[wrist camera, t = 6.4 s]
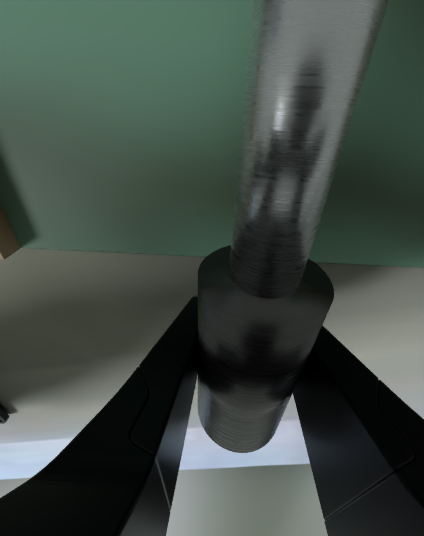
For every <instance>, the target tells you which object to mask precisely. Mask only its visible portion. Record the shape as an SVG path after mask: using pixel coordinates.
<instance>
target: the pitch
mask: <svg viewBox="0 0 424 536" xmlns="http://www.w3.org/2000/svg"><path fill="white" fill-rule="evenodd" d="M253 4H254V0H0V260H5V259H6V258H7V257H9V256H10V255H12V254H13V253H14V252H16V251H17V250H18V249H20V248H38V249H59V250H79V251H99V252H119V253H140V254H160V255H180V256H200V257H207V256H208V255H209V254H211V253H212V252H214V251H216V250H218V249H220V248H222V247H226V246H229V245H231V242H232V231H233V220H234V209H235V199H236V188H237V177H238V166H239V155H240V145H241V134H242V123H243V112H244V102H245V91H246V80H247V69H248V58H249V48H250V37H251V26H252V15H253ZM308 259H310V260H311V261H313V262H322V263H342V264H362V265H383V266H403V267H423V268H424V0H389V2H388V5H387V8H386V12H385V15H384V18H383V21H382V24H381V28H380V31H379V34H378V37H377V40H376V43H375V47H374V50H373V53H372V56H371V59H370V63H369V66H368V69H367V72H366V75H365V78H364V82H363V85H362V88H361V91H360V94H359V97H358V101H357V104H356V107H355V110H354V113H353V117H352V120H351V123H350V126H349V129H348V132H347V136H346V139H345V142H344V145H343V148H342V152H341V155H340V158H339V161H338V164H337V167H336V171H335V174H334V177H333V180H332V183H331V187H330V190H329V193H328V196H327V199H326V202H325V206H324V209H323V212H322V215H321V218H320V222H319V225H318V228H317V231H316V234H315V237H314V241H313V244H312V247H311V250H310V253H309V257H308Z"/></svg>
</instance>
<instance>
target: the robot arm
mask: <svg viewBox="0 0 424 536" xmlns="http://www.w3.org/2000/svg"><path fill="white" fill-rule="evenodd" d="M197 374H198V297H197V296H194V297H192V298H191V299H190V301H189V302H188V303H187V305H186V306H185V307H184V308H183V310H182V311H181V312H180V314H179V315H178V316H177V317H176V319H175V320H174V321H173V323H172V324H171V325H170V326H169V328H168V329H167V330H166V332H165V333H164V334H163V335H162V337H161V338H160V339H159V341H158V342H157V343H156V344H155V346H154V347H153V348H152V350H151V351H150V352H149V353H148V355H147V356H146V357H145V359H144V360H143V361H142V362H141V364H140V365H139V367H137V369H136V370H135V371H134V373H133V374H132V375H131V376H130V378H129V379H128V380H127V381H126V383H125V384H124V385H123V386H122V387H121V389H120V390H119V391H118V392H117V393H116V394H115V395H114V397H113V398H112V399H111V400H110V401H109V402H108V403H107V404H106V405H105V406H104V407H103V409H102V410H101V411H100V412H99V413H98V414H97V415H96V416H95V417H94V418H93V419H92V420H91V421H90V422H89V423H88V424H87V425H86V426H85V427H84V428H83V430H82V431H81V432H80V433H79V434H78V435H77V436H76V437H75V438H74V439H73V440H72V441H71V442H70V443H69V444H68V445H67V446H66V447H65V448H64V449H63V450H62V451H61V452H60V453H59V455H58V456H57V457H56V458H55V459H53V460H52V461H51V462H50V463H49V464H48V465H47V466H46V467H45V468H43V469H42V470H41V471H40V472H38V473H37V474H36V475H35V476H33V477H32V478H31V479H29V480H28V481H26V482H25V483H23V484H22V485H20V486H19V487H17V488H15V489H14V490H12V491H11V492H9V493H8V494H6V495H5V496H3V497H1V498H0V536H166V532H167V527H168V522H169V516H170V510H171V506H172V501H173V496H174V491H175V486H176V481H177V476H178V471H179V466H180V461H181V456H182V451H183V445H184V440H185V435H186V430H187V425H188V420H189V415H190V410H191V405H192V400H193V395H194V390H195V385H196V380H197ZM293 395H294V399H295V403H296V407H297V412H298V416H299V420H300V424H301V428H302V432H303V436H304V440H305V444H306V448H307V452H308V456H309V460H310V464H311V468H312V472H313V476H314V480H315V484H316V488H317V493H318V497H319V501H320V504H321V509H322V513H323V517H324V519H325V526H326V529H327V533H328V536H424V419H423V418H422V417H421V416H419V415H418V414H417V413H416V412H415V411H414V410H412V409H411V408H410V407H409V406H408V405H407V404H406V403H405V402H403V401H402V400H401V399H400V398H399V397H398V396H397V395H396V394H395V393H394V392H393V391H391V390H390V389H389V388H388V387H387V386H386V385H385V384H384V383H383V382H382V381H381V380H378V377H377V376H375V375H374V374H373V373H372V372H371V371H370V370H369V369H368V368H367V367H366V366H365V365H364V364H363V363H362V362H361V361H360V360H359V359H357V358H356V357H355V356H354V355H353V354H352V353H351V352H350V351H349V350H348V349H347V348H346V347H345V346H344V345H343V344H342V343H341V342H339V341H338V340H337V339H336V338H335V337H334V336H333V335H332V334H331V333H330V332H329V331H328V330H327V329H326V328H325V327H324V326H323V325H322V327H321V329H320V331H319V333H318V336H317V338H316V340H315V343H314V345H313V347H312V349H311V352H310V354H309V356H308V359H307V361H306V363H305V365H304V368H303V370H302V372H301V375H300V377H299V379H298V381H297V384H296V386H295V388H294V391H293ZM8 418H9V415H8V414H7V413H6V412H5V411H4V410H3V409H2V408H1V407H0V423H6V421H7V420H8Z"/></svg>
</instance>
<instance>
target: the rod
mask: <svg viewBox="0 0 424 536" xmlns="http://www.w3.org/2000/svg"><path fill="white" fill-rule="evenodd" d="M388 2H389V0H254V4H253V15H252V26H251V37H250V48H249V58H248V69H247V80H246V91H245V102H244V112H243V123H242V134H241V145H240V155H239V166H238V177H237V188H236V199H235V209H234V220H233V231H232V242H231V245H229V246H226V247H222V248H220V249H218V250H216V251H214V252H212V253H211V254H209V255H208V256H207V257H206V258H205V259H204V260H203V261H202V263H201V265H200V267H199V270H198V414H199V418H200V421H201V424H202V426H203V428H204V430H205V431H206V433H207V434H208V436H209V437H210V438H211V439H212V440H213V441H214V442H215V443H216V444H218V445H219V446H221V447H222V448H225V449H227V450H229V451H233V452H238V453H248V452H253V451H256V450H258V449H260V448H262V447H263V446H265V445H266V444H267V443H268V442H269V441H270V440H271V439H272V437H273V435H274V434H275V432H276V429H277V427H278V425H279V422H280V420H281V418H282V416H283V413H284V411H285V409H286V406H287V404H288V402H289V400H290V397H291V395H292V393H293V391H294V388H295V386H296V384H297V381H298V379H299V377H300V375H301V372H302V370H303V368H304V365H305V363H306V361H307V359H308V356H309V354H310V352H311V349H312V347H313V345H314V343H315V340H316V338H317V336H318V333H319V331H320V329H321V327H322V324H323V322H324V320H325V317H326V315H327V313H328V311H329V308H330V306H331V304H332V301H333V298H334V289H333V285H332V283H331V281H330V279H329V277H328V276H327V274H326V273H325V272H324V271H323V270H322V269H321V268H320V267H319V266H318V265H317V264H316V263H314V262H313V261H311V260H310V259H308V257H309V253H310V250H311V247H312V244H313V241H314V237H315V234H316V231H317V228H318V225H319V222H320V218H321V215H322V212H323V209H324V206H325V202H326V199H327V196H328V193H329V190H330V187H331V183H332V180H333V177H334V174H335V171H336V167H337V164H338V161H339V158H340V155H341V152H342V148H343V145H344V142H345V139H346V136H347V132H348V129H349V126H350V123H351V120H352V117H353V113H354V110H355V107H356V104H357V101H358V97H359V94H360V91H361V88H362V85H363V82H364V78H365V75H366V72H367V69H368V66H369V63H370V59H371V56H372V53H373V50H374V47H375V43H376V40H377V37H378V34H379V31H380V28H381V24H382V21H383V18H384V15H385V12H386V8H387V5H388Z"/></svg>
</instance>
